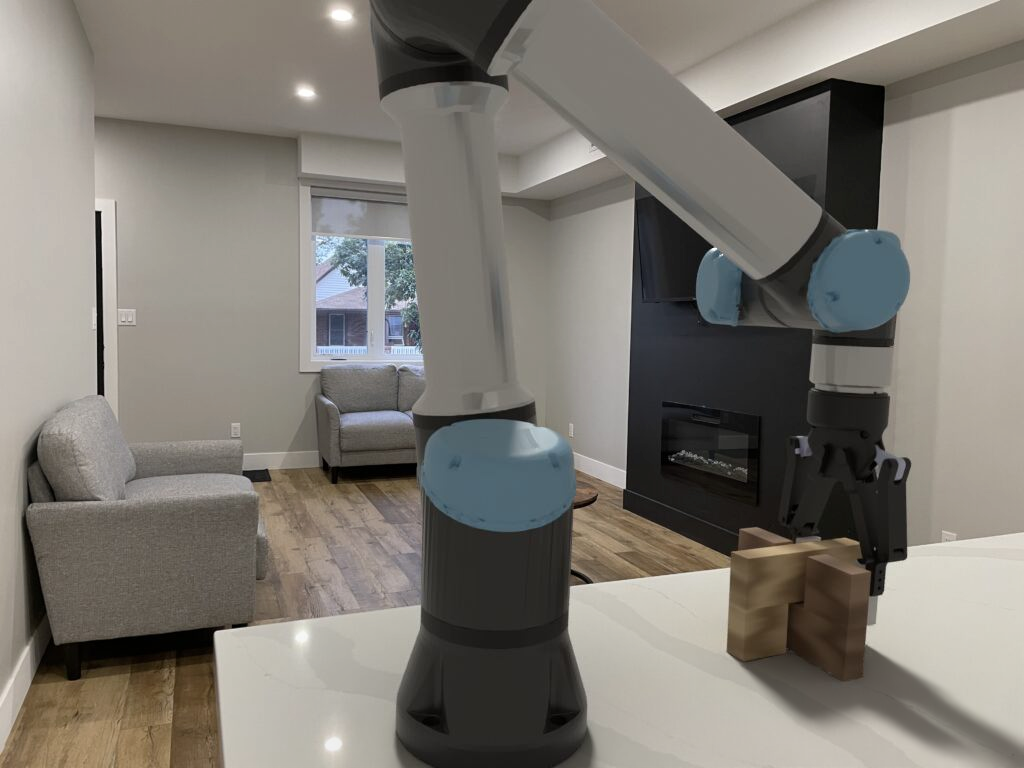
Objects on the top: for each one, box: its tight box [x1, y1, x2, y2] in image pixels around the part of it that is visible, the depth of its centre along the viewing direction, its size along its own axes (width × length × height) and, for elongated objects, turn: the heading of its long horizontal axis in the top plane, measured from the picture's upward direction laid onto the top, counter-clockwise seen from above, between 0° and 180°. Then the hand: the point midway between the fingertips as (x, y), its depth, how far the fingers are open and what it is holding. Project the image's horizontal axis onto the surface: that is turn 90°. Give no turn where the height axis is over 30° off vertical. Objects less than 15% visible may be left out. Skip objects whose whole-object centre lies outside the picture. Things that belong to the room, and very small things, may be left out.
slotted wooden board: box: [737, 526, 871, 682], centre depth 77 cm, size 15×2×10 cm, turn 24°
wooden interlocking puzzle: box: [726, 537, 862, 662], centre depth 77 cm, size 15×2×10 cm, turn 114°
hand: (832, 609), depth 80 cm, fingers open, 7 cm apart
